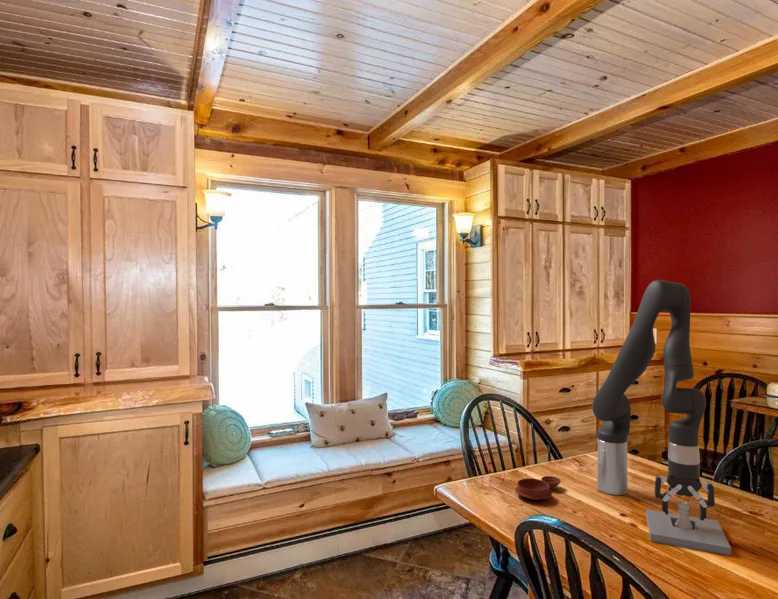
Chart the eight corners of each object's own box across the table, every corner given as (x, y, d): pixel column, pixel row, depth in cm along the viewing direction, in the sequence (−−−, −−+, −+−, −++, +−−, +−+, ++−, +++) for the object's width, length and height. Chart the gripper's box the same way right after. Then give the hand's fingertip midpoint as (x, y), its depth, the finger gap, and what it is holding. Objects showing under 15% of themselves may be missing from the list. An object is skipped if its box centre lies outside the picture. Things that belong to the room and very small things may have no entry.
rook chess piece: (670, 527, 136) (670, 499, 135) (685, 526, 136) (685, 498, 136) (682, 535, 131) (682, 506, 131) (697, 534, 132) (697, 505, 131)
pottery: (507, 496, 157) (507, 483, 157) (540, 481, 170) (540, 468, 170) (539, 508, 149) (539, 494, 149) (571, 491, 162) (571, 478, 162)
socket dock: (650, 541, 128) (650, 533, 128) (646, 515, 143) (646, 509, 143) (731, 555, 121) (731, 547, 121) (717, 527, 135) (717, 520, 135)
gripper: (656, 459, 133) (656, 517, 133) (716, 467, 127) (716, 527, 127) (653, 451, 140) (653, 506, 140) (711, 458, 134) (711, 515, 134)
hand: (683, 516), depth 133 cm, fingers open, 8 cm apart
